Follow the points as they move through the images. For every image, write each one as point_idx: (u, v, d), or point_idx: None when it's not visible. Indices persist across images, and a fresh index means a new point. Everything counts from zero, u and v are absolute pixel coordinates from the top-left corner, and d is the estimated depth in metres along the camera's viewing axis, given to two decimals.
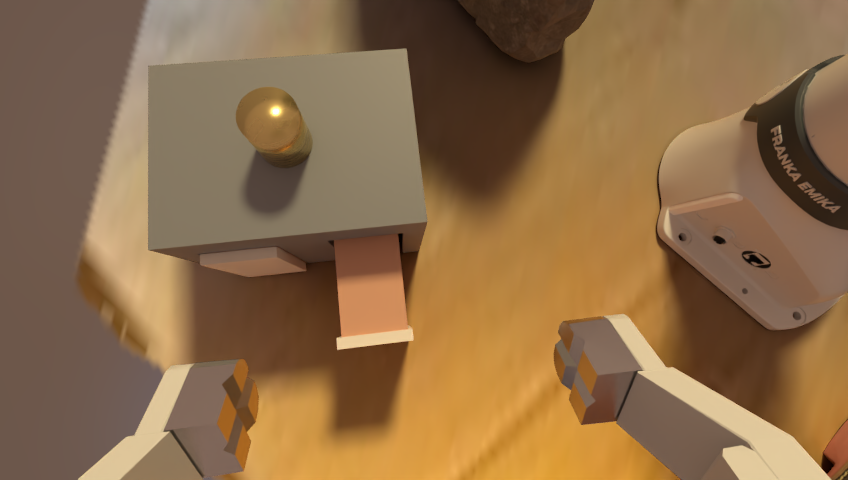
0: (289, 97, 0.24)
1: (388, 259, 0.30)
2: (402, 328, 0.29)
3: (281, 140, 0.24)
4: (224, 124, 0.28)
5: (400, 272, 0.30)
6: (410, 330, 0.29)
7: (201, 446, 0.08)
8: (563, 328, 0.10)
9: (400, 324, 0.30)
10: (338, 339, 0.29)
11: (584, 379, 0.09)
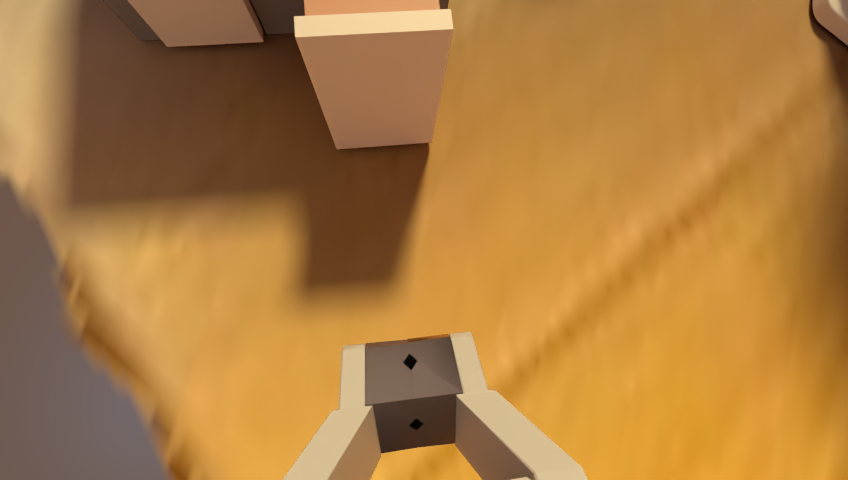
0: None
1: None
2: None
3: None
4: None
5: None
6: (446, 11, 0.14)
7: (392, 421, 0.08)
8: None
9: (425, 8, 0.15)
10: (298, 19, 0.14)
11: None
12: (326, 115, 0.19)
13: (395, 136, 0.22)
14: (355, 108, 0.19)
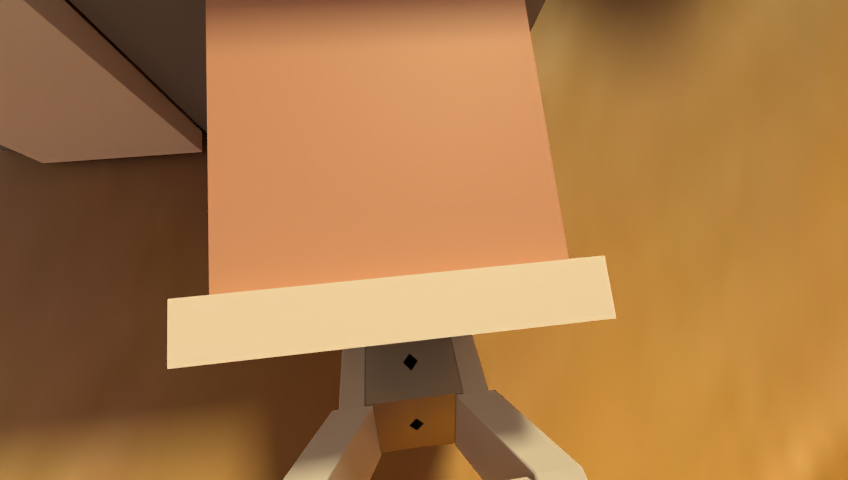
0: None
1: None
2: (540, 257, 0.06)
3: None
4: None
5: None
6: (595, 263, 0.05)
7: (392, 421, 0.08)
8: None
9: (528, 237, 0.06)
10: (179, 307, 0.05)
11: None
12: None
13: None
14: None
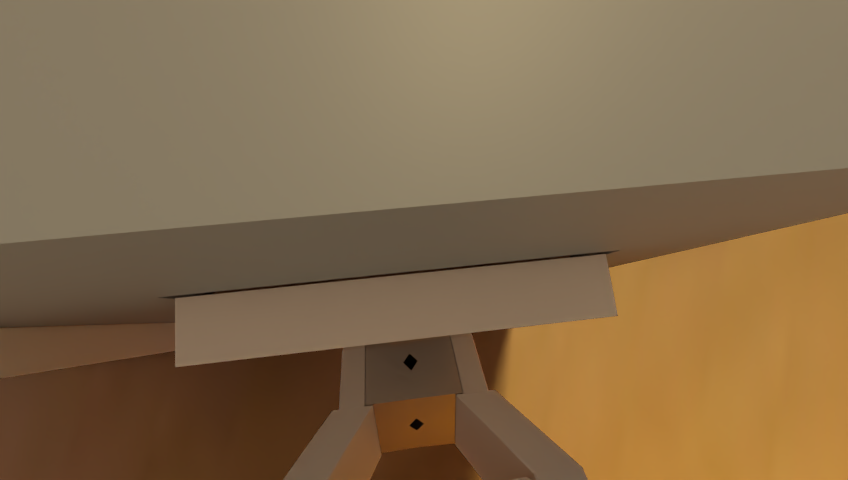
0: None
1: None
2: None
3: None
4: None
5: None
6: (597, 261, 0.05)
7: (392, 421, 0.08)
8: None
9: None
10: (187, 306, 0.05)
11: None
12: None
13: None
14: None
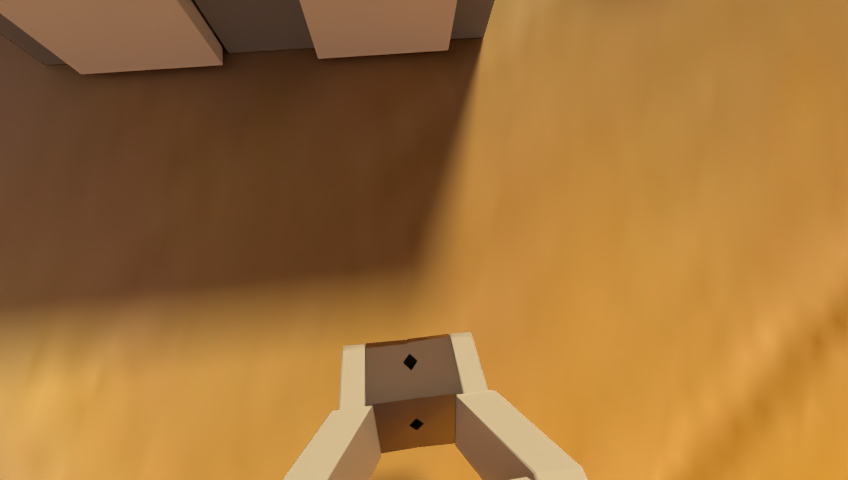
0: None
1: None
2: None
3: None
4: None
5: None
6: None
7: (392, 421, 0.08)
8: None
9: None
10: None
11: None
12: None
13: (399, 35, 0.16)
14: None
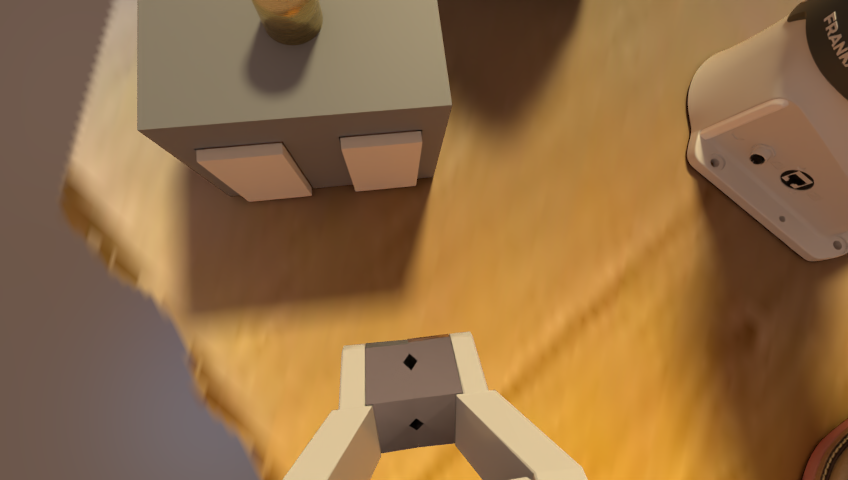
0: None
1: None
2: None
3: None
4: None
5: None
6: (419, 132, 0.27)
7: (392, 421, 0.08)
8: None
9: None
10: (342, 139, 0.27)
11: None
12: (351, 176, 0.32)
13: (392, 184, 0.35)
14: (369, 172, 0.32)
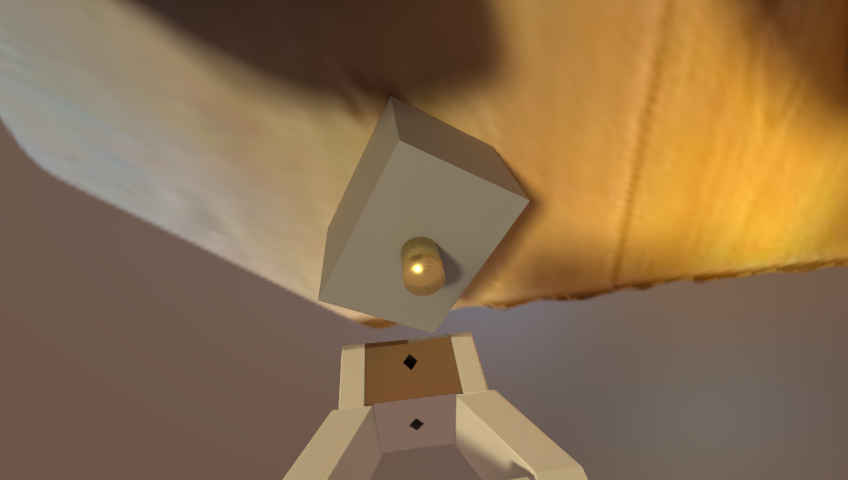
0: (421, 265, 0.34)
1: None
2: None
3: None
4: (384, 278, 0.39)
5: None
6: None
7: (392, 421, 0.08)
8: None
9: None
10: None
11: None
12: None
13: None
14: None
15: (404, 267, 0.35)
